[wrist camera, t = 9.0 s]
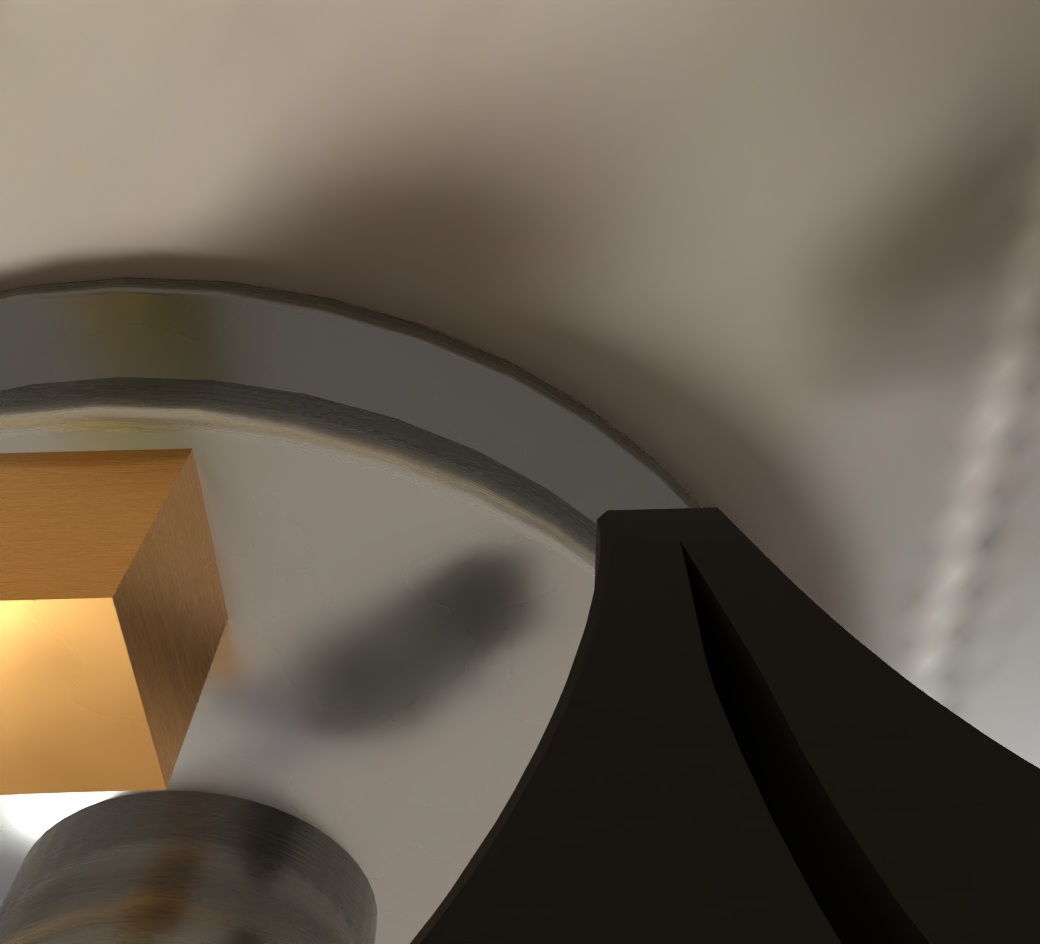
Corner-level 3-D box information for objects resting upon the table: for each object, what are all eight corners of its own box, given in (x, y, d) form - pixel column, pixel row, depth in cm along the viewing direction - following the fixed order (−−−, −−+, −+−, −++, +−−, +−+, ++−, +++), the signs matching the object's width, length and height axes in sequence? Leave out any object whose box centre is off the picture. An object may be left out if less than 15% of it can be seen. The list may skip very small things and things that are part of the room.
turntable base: (-121, 1115, 22) (-134, 1143, 22) (-660, 294, 12) (-711, 311, 12) (734, 1081, 23) (739, 1108, 22) (886, 261, 13) (904, 276, 12)
